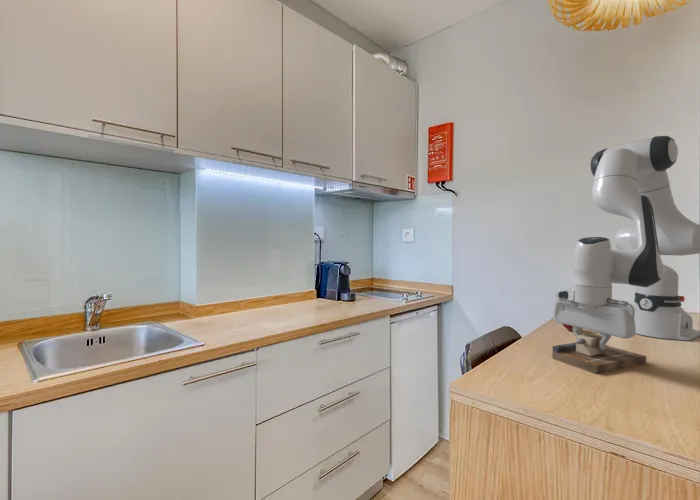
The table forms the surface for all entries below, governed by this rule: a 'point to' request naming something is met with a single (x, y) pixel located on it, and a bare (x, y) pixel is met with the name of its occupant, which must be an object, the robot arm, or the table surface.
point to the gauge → (588, 344)
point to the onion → (568, 327)
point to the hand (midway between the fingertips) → (590, 345)
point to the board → (597, 358)
